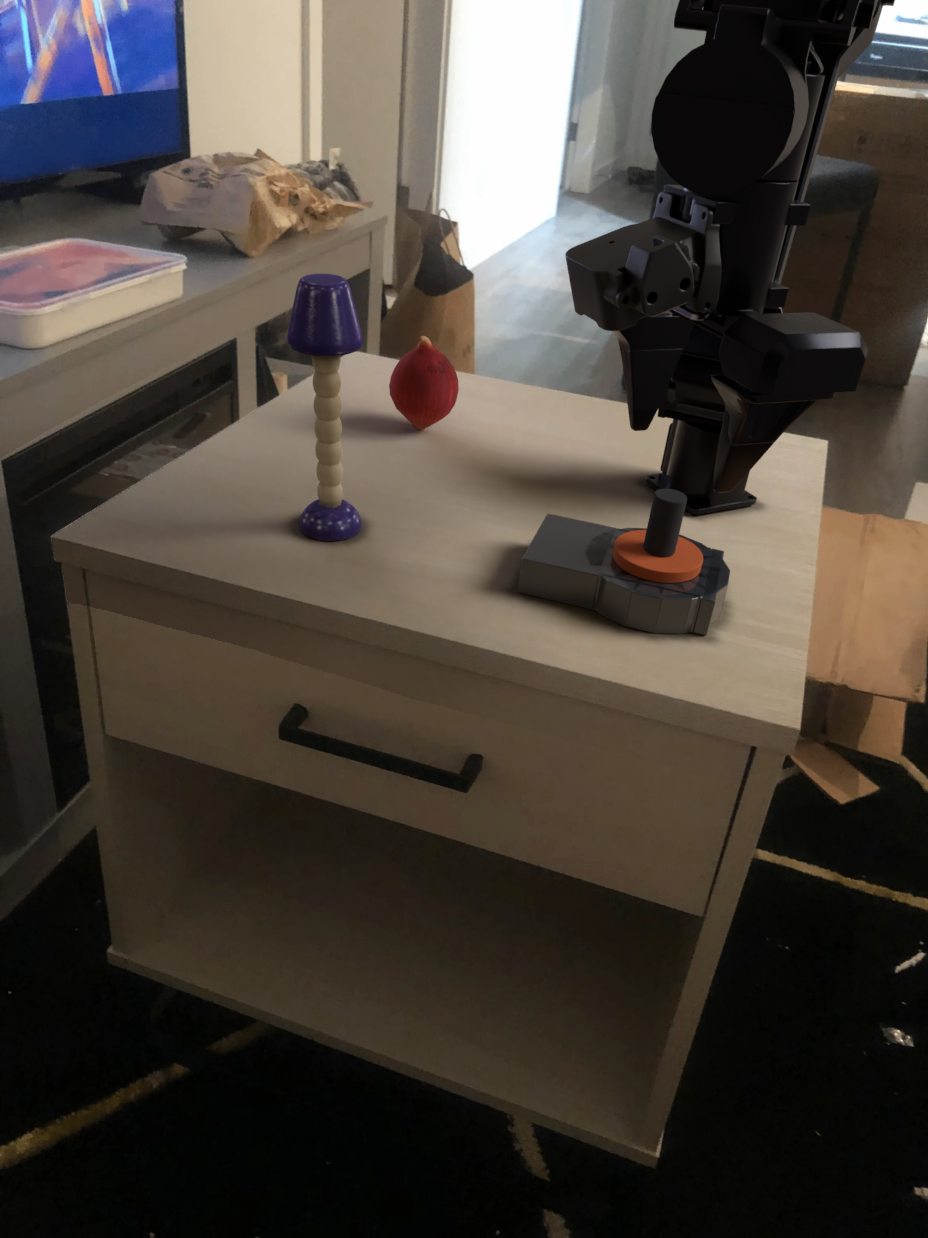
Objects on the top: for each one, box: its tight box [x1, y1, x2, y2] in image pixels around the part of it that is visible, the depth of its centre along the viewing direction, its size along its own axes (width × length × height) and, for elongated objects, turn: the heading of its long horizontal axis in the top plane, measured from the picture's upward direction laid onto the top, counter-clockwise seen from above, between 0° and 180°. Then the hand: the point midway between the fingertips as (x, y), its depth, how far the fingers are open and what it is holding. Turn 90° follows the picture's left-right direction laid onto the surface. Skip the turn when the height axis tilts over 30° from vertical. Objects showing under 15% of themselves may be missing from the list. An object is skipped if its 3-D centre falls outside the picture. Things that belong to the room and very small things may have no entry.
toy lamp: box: [286, 273, 364, 542], centre depth 61 cm, size 5×5×17 cm
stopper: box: [613, 489, 703, 583], centre depth 59 cm, size 6×6×7 cm
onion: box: [388, 335, 460, 431], centre depth 80 cm, size 6×6×8 cm
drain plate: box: [517, 513, 731, 636], centre depth 61 cm, size 13×9×2 cm
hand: (677, 458), depth 57 cm, fingers open, 9 cm apart
